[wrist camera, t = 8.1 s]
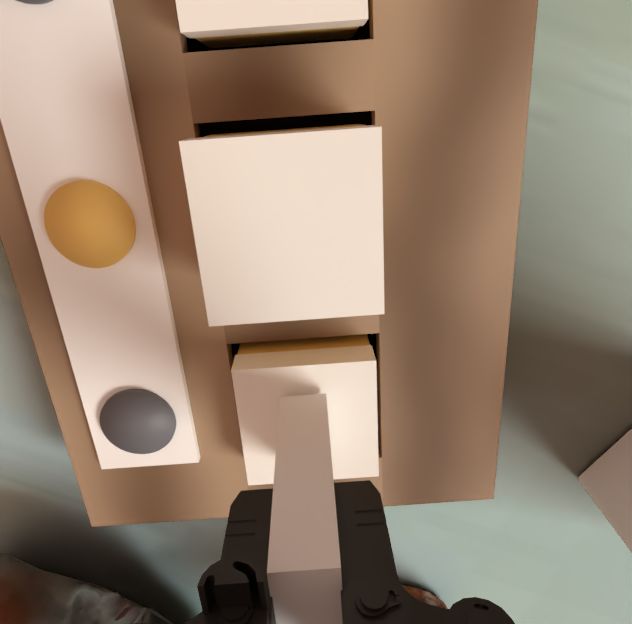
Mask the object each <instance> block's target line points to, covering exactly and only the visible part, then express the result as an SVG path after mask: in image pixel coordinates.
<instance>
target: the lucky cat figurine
mask: <svg viewBox="0 0 632 624" xmlns="http://www.w3.org/2000/svg"><path fill="white" fill-rule="evenodd" d="M134 623H148V624H173V623H172V622H170V621H169V620H167V619H166V618H165V617H163V616H162V615H161V614H159V613H158V612H157V611H156V610H154V609H153V608H151V609H150V608H145V607H143V606H141V605H139V604H136V603H134V602H132V601H130V600H128V599H126V598H124V597H122V596H121V595H120V594H119V593H118V592H117V591H116V593H115V592H113V591H110V590H108V589H105V588H103V587H100V586H98V585H95V584H93V583H89V582H85V581H81V580H77V579H73V578H70V577H66V576H62V575H59V574H55V573H52V572H48V571H44V570H40V569H38V568H36V567H34V566H32V565H30V564H28V563H26V562H24V561H22V560H20V559H19V558H16V557H13V556H11V555H7V554H0V624H134Z"/></svg>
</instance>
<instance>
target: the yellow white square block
mask: <svg viewBox="0 0 632 624" xmlns="http://www.w3.org/2000/svg"><path fill="white" fill-rule="evenodd" d="M175 1H176V8H177V15H178V21H179V28H180V33H182V34H183V35H185V36H187V37H188V38H195V39H197V40H198V41H200V42H201V43H203V44H204V45H206V46H207V47H209V48H221V47H235V46H249V45H262V44H276V43H290V42H304V41H318V40H331V39H345V38H352V36H353V35H354V34H355V32H356V31H357V29H358V28H359V26H363V25H364V24H365V23H366V21H367V20H368V0H175Z"/></svg>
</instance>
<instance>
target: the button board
mask: <svg viewBox="0 0 632 624" xmlns="http://www.w3.org/2000/svg"><path fill="white" fill-rule="evenodd" d="M113 4H114V9H115V15H116V20H117V25H118V30H119V36H120V41H121V46H122V51H123V56H124V62H125V67H126V72H127V77H128V82H129V88H130V93H131V98H132V103H133V109H134V114H135V119H136V124H137V129H138V135H139V140H140V145H141V150H142V155H143V161H144V166H145V171H146V176H147V182H148V187H149V192H150V197H151V202H152V208H153V213H154V218H155V223H156V228H157V234H158V239H159V244H160V249H161V254H162V260H163V265H164V270H165V275H166V281H167V286H168V291H169V296H170V301H171V307H172V312H173V317H174V322H175V327H176V333H177V338H178V343H179V348H180V354H181V359H182V364H183V369H184V374H185V380H186V385H187V390H188V395H189V400H190V406H191V411H192V416H193V421H194V427H195V432H196V437H197V442H198V447H199V453H200V460H199V463H186V464H171V465H157V466H143V467H129V468H114V469H101V466H100V462H99V459H98V455H97V452H96V448H95V445H94V441H93V438H92V434H91V431H90V428H89V424H88V421H87V417H86V414H85V410H84V407H83V403H82V400H81V396H80V393H79V389H78V386H77V383H76V379H75V376H74V372H73V369H72V365H71V362H70V358H69V355H68V351H67V348H66V344H65V341H64V337H63V334H62V331H61V327H60V324H59V320H58V317H57V313H56V310H55V306H54V303H53V299H52V296H51V292H50V289H49V286H48V282H47V279H46V275H45V272H44V268H43V265H42V261H41V258H40V254H39V251H38V247H37V244H36V241H35V237H34V234H33V230H32V227H31V223H30V220H29V216H28V213H27V209H26V206H25V202H24V199H23V196H22V192H21V189H20V185H19V182H18V178H17V175H16V171H15V168H14V164H13V161H12V157H11V154H10V150H9V147H8V144H7V140H6V137H5V133H4V130H3V126H2V123H1V119H0V237H1V241H2V244H3V247H4V250H5V253H6V256H7V260H8V263H9V266H10V269H11V272H12V276H13V279H14V282H15V285H16V288H17V291H18V295H19V298H20V301H21V304H22V307H23V310H24V314H25V317H26V320H27V323H28V326H29V329H30V333H31V336H32V339H33V342H34V345H35V348H36V352H37V355H38V358H39V361H40V364H41V367H42V371H43V374H44V377H45V380H46V383H47V386H48V390H49V393H50V396H51V399H52V402H53V405H54V409H55V412H56V415H57V418H58V421H59V424H60V428H61V431H62V434H63V437H64V440H65V443H66V447H67V450H68V453H69V456H70V459H71V463H72V466H73V469H74V472H75V475H76V478H77V482H78V485H79V488H80V491H81V494H82V497H83V501H84V504H85V507H86V510H87V513H88V516H89V520H90V523H91V526H92V527H97V526H111V525H126V524H140V523H154V522H169V521H183V520H197V519H212V518H226V517H229V511H230V506H231V504H232V503H233V501H234V500H235V498H236V497H237V495H238V494H239V492H240V491H243V490H257V489H271V488H273V484H263V485H249V486H248V480H247V474H246V467H245V461H244V454H243V447H242V441H241V434H240V427H239V421H238V414H237V407H236V401H235V394H234V387H233V381H232V374H231V369H232V365H233V362H234V361H233V354H232V347H231V344H233V343H247V342H261V341H275V340H289V339H304V338H318V337H332V336H346V335H360V334H374V333H376V336H377V381H378V426H379V429H378V458H379V476H377V477H363V478H349V479H334V483H338V482H351V481H365V480H370V481H371V482H372V483H373V485H374V486H375V487H376V488H377V490H378V491H379V492H380V494H381V499H382V504H383V506H397V505H412V504H426V503H440V502H455V501H469V500H483V499H494V488H495V477H496V466H497V455H498V443H499V432H500V421H501V410H502V399H503V388H504V376H505V365H506V354H507V343H508V332H509V321H510V309H511V298H512V287H513V276H514V265H515V254H516V242H517V231H518V220H519V209H520V198H521V186H522V175H523V164H524V153H525V142H526V131H527V119H528V108H529V97H530V86H531V75H532V64H533V52H534V41H535V30H536V19H537V8H538V0H369V23H370V39H367V40H353V41H340V42H326V43H312V44H298V45H284V46H271V47H257V48H243V49H229V50H216V51H202V52H188V48H187V41H186V36H185V35H183V34H182V33H180V28H179V21H178V15H177V8H176V1H175V0H113ZM362 111H371V112H372V125H377V126H381V127H382V179H383V245H384V311H385V314H379V315H365V316H351V317H337V318H323V319H309V320H295V321H281V322H267V323H253V324H239V325H225V326H211V327H209V324H208V318H207V312H206V306H205V300H204V294H203V287H202V281H201V275H200V269H199V263H198V257H197V251H196V245H195V239H194V232H193V226H192V220H191V214H190V208H189V202H188V196H187V190H186V183H185V177H184V171H183V165H182V159H181V153H180V147H179V141H181V140H185V139H189V138H201V136H200V129H199V123H209V122H223V121H237V120H251V119H265V118H279V117H292V116H306V115H320V114H334V113H348V112H362Z"/></svg>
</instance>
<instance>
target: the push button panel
mask: <svg viewBox="0 0 632 624" xmlns="http://www.w3.org/2000/svg"><path fill="white" fill-rule="evenodd" d="M0 119H1V123H2V126H3V130H4V133H5V137H6V140H7V144H8V147H9V150H10V154H11V157H12V161H13V164H14V168H15V171H16V175H17V178H18V182H19V185H20V189H21V192H22V196H23V199H24V202H25V206H26V209H27V213H28V216H29V220H30V223H31V227H32V230H33V234H34V237H35V241H36V244H37V247H38V251H39V254H40V258H41V261H42V265H43V268H44V272H45V275H46V279H47V282H48V286H49V289H50V292H51V296H52V299H53V303H54V306H55V310H56V313H57V317H58V320H59V324H60V327H61V331H62V334H63V337H64V341H65V344H66V348H67V351H68V355H69V358H70V362H71V365H72V369H73V372H74V376H75V379H76V383H77V386H78V389H79V393H80V396H81V400H82V403H83V407H84V410H85V414H86V417H87V421H88V424H89V428H90V431H91V434H92V438H93V441H94V445H95V448H96V452H97V455H98V459H99V462H100V466H101V469H114V468H129V467H143V466H157V465H171V464H186V463H199V460H200V453H199V447H198V442H197V437H196V432H195V427H194V421H193V416H192V411H191V406H190V400H189V395H188V390H187V385H186V380H185V374H184V369H183V364H182V359H181V354H180V348H179V343H178V338H177V333H176V327H175V322H174V317H173V312H172V307H171V301H170V296H169V291H168V286H167V281H166V275H165V270H164V265H163V260H162V254H161V249H160V244H159V239H158V234H157V228H156V223H155V218H154V213H153V208H152V202H151V197H150V192H149V187H148V182H147V176H146V171H145V166H144V161H143V155H142V150H141V145H140V140H139V135H138V129H137V124H136V119H135V114H134V109H133V103H132V98H131V93H130V88H129V82H128V77H127V72H126V67H125V62H124V56H123V51H122V46H121V41H120V36H119V30H118V25H117V20H116V15H115V9H114V4H113V0H0Z"/></svg>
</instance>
